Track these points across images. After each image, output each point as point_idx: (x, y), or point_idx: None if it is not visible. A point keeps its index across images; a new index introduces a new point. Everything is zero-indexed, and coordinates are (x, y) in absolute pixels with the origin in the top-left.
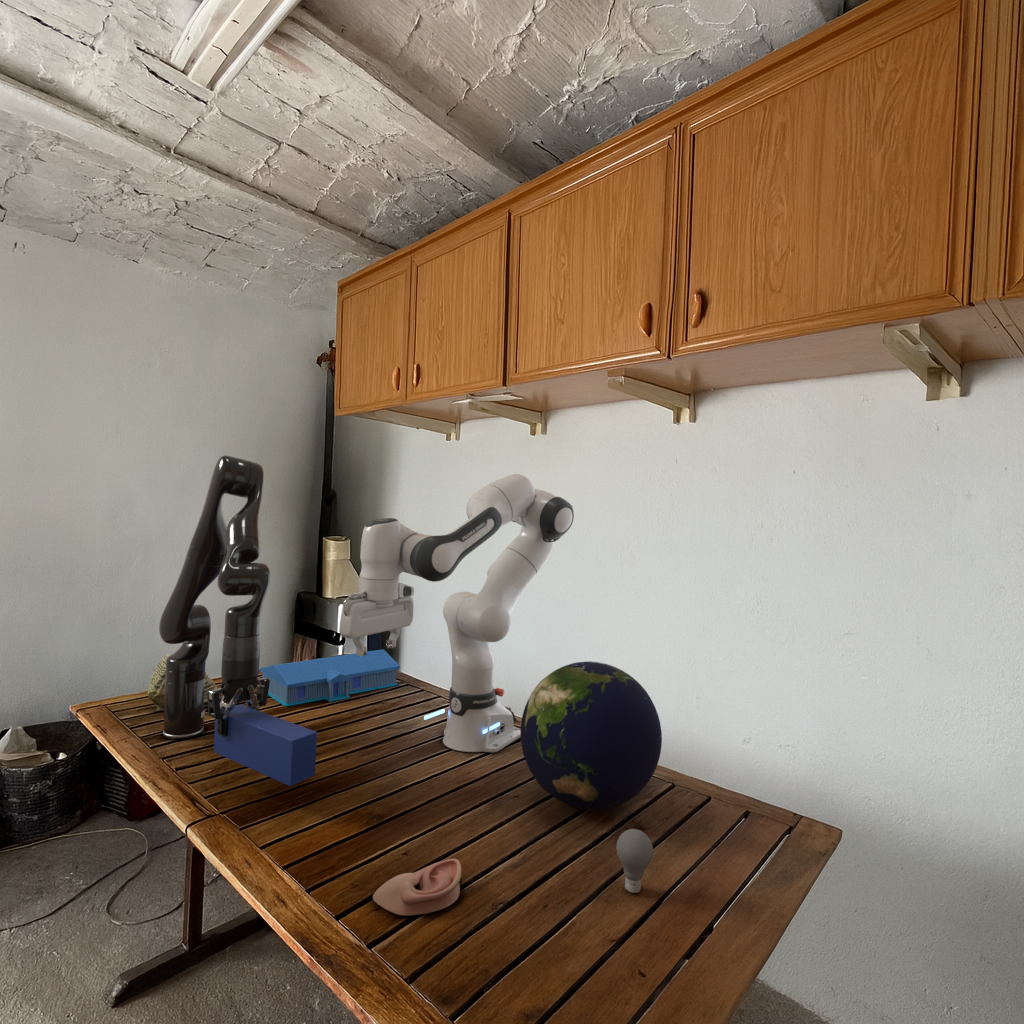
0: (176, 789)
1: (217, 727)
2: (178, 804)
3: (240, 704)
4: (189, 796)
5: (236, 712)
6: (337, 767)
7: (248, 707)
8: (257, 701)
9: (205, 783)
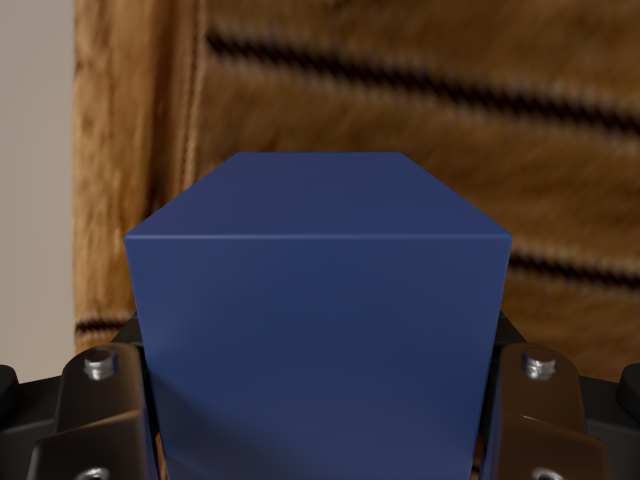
0: (147, 56)
1: (134, 318)
2: (104, 183)
3: (498, 250)
4: (157, 156)
5: (278, 435)
6: (615, 359)
7: (473, 395)
8: (610, 458)
9: (252, 100)
